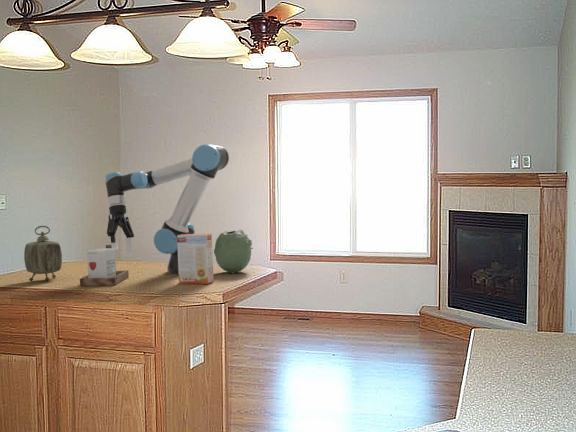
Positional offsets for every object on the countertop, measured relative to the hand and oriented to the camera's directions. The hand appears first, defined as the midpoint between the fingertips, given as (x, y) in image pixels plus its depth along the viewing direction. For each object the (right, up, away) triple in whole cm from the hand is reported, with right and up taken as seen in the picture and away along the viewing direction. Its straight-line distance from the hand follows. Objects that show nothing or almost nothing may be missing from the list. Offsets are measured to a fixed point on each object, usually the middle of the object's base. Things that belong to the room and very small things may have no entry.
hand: (123, 250), depth 309 cm
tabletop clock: (-35, -14, -2) cm, 37 cm away
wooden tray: (-5, -13, -11) cm, 18 cm away
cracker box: (+37, -13, -22) cm, 44 cm away
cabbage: (+50, -11, +5) cm, 52 cm away
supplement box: (-5, -14, -15) cm, 21 cm away
